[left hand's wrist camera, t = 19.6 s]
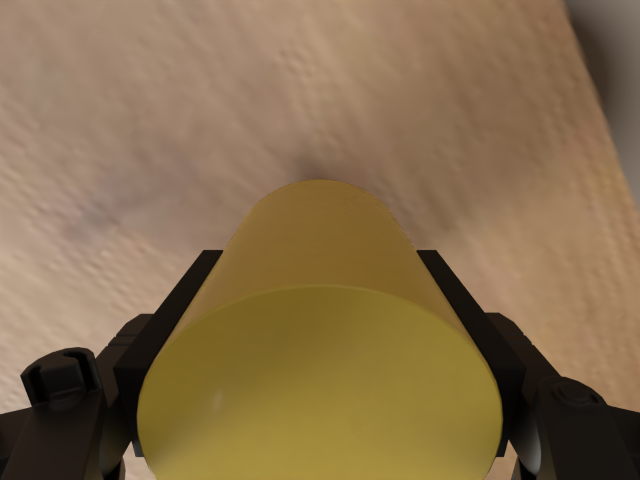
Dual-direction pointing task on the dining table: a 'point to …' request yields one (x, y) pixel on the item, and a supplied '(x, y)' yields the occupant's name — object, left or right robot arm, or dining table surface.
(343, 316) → the cylinder
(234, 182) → the dining table surface
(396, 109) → the dining table surface
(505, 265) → the dining table surface
